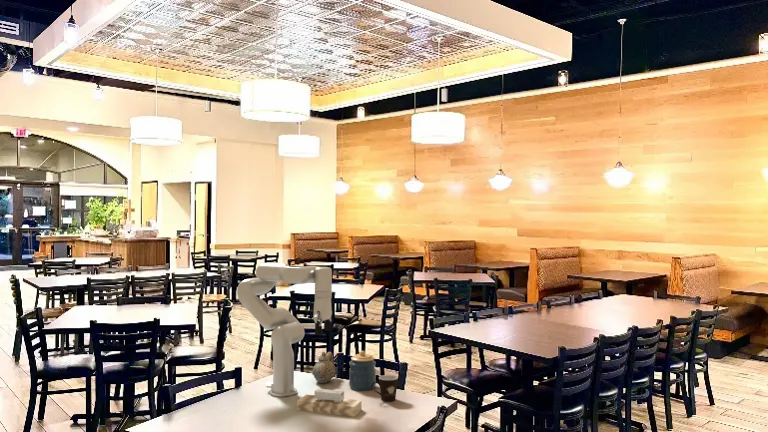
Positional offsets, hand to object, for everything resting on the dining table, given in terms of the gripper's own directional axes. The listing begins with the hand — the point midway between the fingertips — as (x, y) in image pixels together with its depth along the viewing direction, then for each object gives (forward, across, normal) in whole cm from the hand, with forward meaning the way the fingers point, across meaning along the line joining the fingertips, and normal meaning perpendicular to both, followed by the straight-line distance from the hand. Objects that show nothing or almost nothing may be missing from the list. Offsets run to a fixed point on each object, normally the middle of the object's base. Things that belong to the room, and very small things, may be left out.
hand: (323, 332), depth 261 cm
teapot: (+31, -28, -12) cm, 43 cm away
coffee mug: (+31, -10, +26) cm, 41 cm away
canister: (+31, -25, +10) cm, 41 cm away
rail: (+30, +11, +8) cm, 33 cm away
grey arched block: (+30, +11, +8) cm, 33 cm away
